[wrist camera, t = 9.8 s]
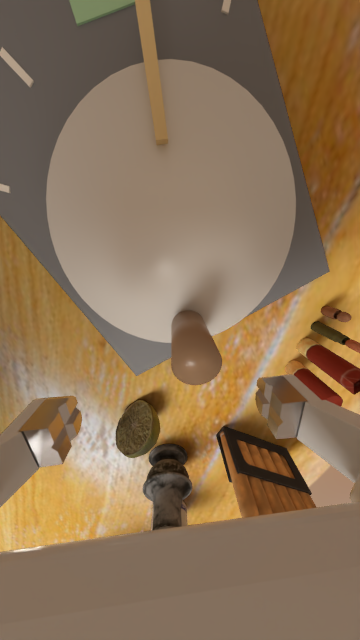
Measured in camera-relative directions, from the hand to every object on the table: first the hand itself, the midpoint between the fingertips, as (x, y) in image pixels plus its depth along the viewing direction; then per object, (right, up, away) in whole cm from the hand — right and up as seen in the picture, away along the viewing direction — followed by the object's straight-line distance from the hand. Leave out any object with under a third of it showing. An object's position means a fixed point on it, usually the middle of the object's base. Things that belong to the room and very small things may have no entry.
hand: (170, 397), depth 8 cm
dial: (0, +11, +5) cm, 12 cm away
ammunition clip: (+10, -13, +16) cm, 23 cm away
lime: (-4, -7, +13) cm, 16 cm away
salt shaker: (-1, -15, +17) cm, 23 cm away
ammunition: (+14, 0, +12) cm, 18 cm away
